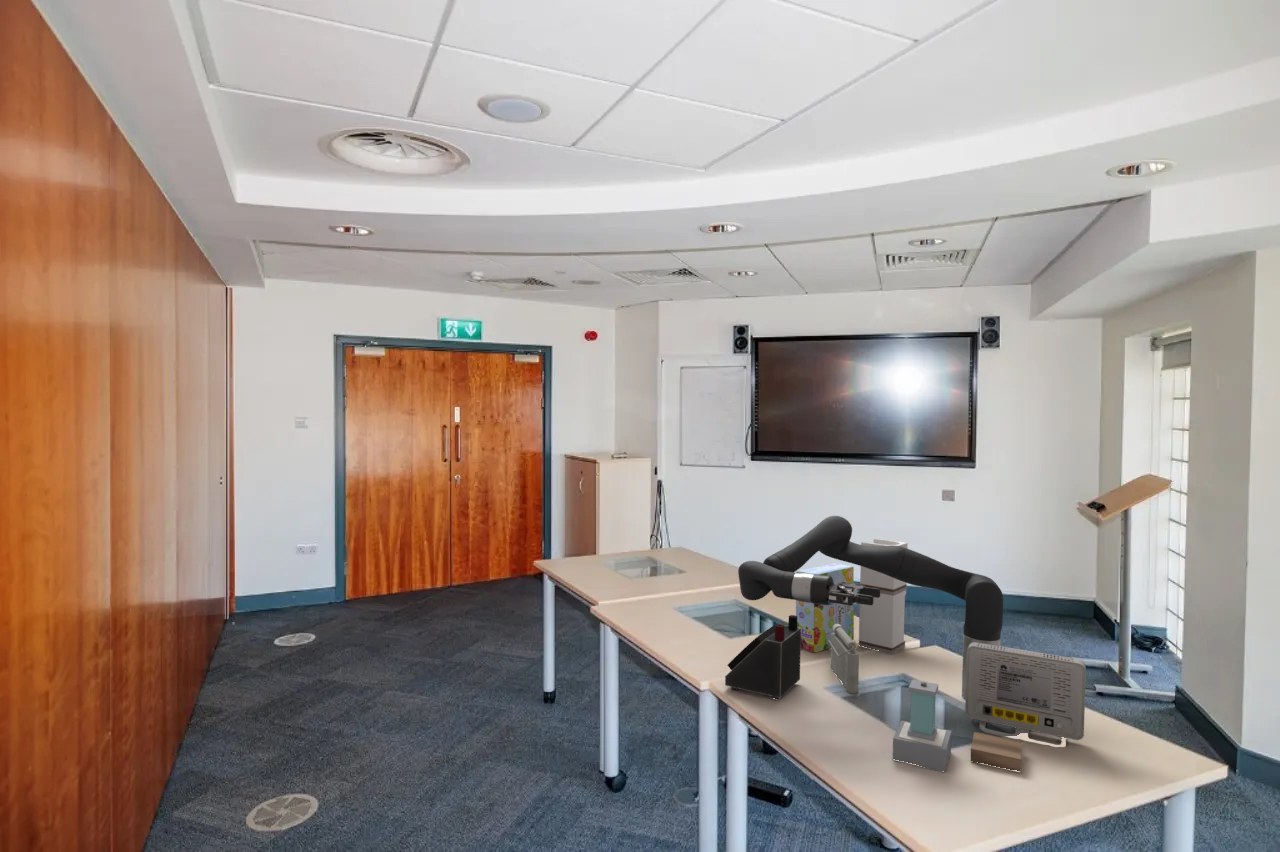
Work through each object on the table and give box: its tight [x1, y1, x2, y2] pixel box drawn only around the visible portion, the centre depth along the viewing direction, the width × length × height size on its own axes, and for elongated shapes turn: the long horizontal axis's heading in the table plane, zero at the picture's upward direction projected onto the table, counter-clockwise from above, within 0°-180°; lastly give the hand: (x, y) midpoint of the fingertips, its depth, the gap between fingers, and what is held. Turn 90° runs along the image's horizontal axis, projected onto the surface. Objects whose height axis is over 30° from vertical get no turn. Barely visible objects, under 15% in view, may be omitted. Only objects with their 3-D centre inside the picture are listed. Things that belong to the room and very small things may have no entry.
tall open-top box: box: [858, 538, 909, 655], centre depth 243 cm, size 11×11×35 cm
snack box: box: [795, 562, 855, 653], centre depth 245 cm, size 22×9×26 cm, turn 128°
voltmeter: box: [724, 614, 802, 700], centre depth 205 cm, size 16×16×20 cm
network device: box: [964, 642, 1087, 741], centre depth 178 cm, size 26×9×20 cm, turn 59°
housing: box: [907, 679, 939, 741], centre depth 165 cm, size 6×6×12 cm
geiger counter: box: [828, 624, 860, 694], centre depth 215 cm, size 14×6×25 cm
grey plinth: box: [892, 720, 952, 773], centre depth 165 cm, size 11×11×5 cm
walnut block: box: [970, 731, 1023, 771], centre depth 165 cm, size 10×10×3 cm
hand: (876, 597), depth 182 cm, fingers open, 8 cm apart
